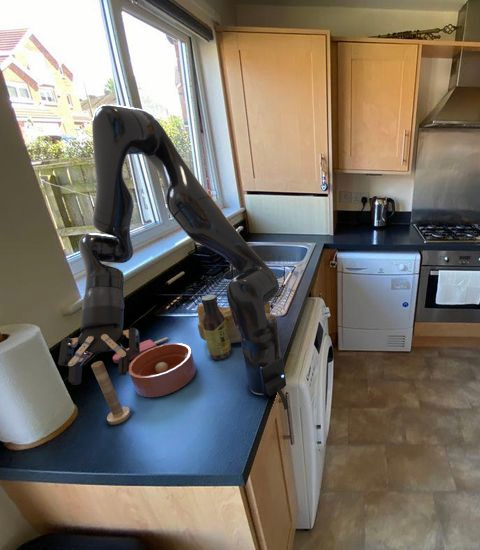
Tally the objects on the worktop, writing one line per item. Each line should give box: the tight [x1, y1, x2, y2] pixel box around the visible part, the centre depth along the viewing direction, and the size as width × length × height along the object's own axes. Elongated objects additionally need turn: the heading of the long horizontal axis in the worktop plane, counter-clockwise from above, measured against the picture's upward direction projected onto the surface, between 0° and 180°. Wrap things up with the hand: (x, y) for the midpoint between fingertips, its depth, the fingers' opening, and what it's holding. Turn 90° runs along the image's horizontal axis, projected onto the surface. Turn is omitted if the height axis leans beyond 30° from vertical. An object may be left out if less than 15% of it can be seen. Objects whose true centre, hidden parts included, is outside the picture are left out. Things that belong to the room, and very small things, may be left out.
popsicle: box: [112, 336, 169, 364], centre depth 96 cm, size 5×2×15 cm
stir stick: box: [90, 360, 132, 426], centre depth 70 cm, size 4×4×16 cm
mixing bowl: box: [127, 342, 197, 398], centre depth 83 cm, size 14×14×7 cm
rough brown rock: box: [196, 301, 271, 344], centre depth 103 cm, size 23×17×15 cm
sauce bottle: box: [200, 294, 232, 361], centre depth 91 cm, size 7×6×20 cm
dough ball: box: [155, 362, 168, 373], centre depth 86 cm, size 3×3×3 cm
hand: (99, 379), depth 67 cm, fingers open, 8 cm apart
